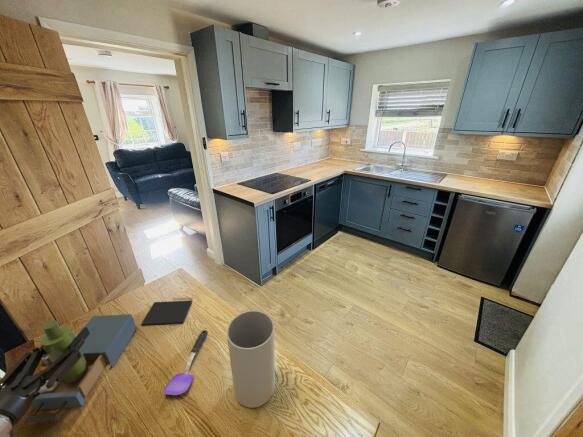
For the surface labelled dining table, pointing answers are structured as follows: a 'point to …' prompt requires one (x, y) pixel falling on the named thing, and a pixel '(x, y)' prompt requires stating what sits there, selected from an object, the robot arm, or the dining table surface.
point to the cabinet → (108, 336)
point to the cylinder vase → (252, 357)
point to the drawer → (68, 391)
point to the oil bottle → (62, 348)
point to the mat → (167, 313)
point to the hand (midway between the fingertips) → (74, 331)
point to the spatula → (184, 380)
